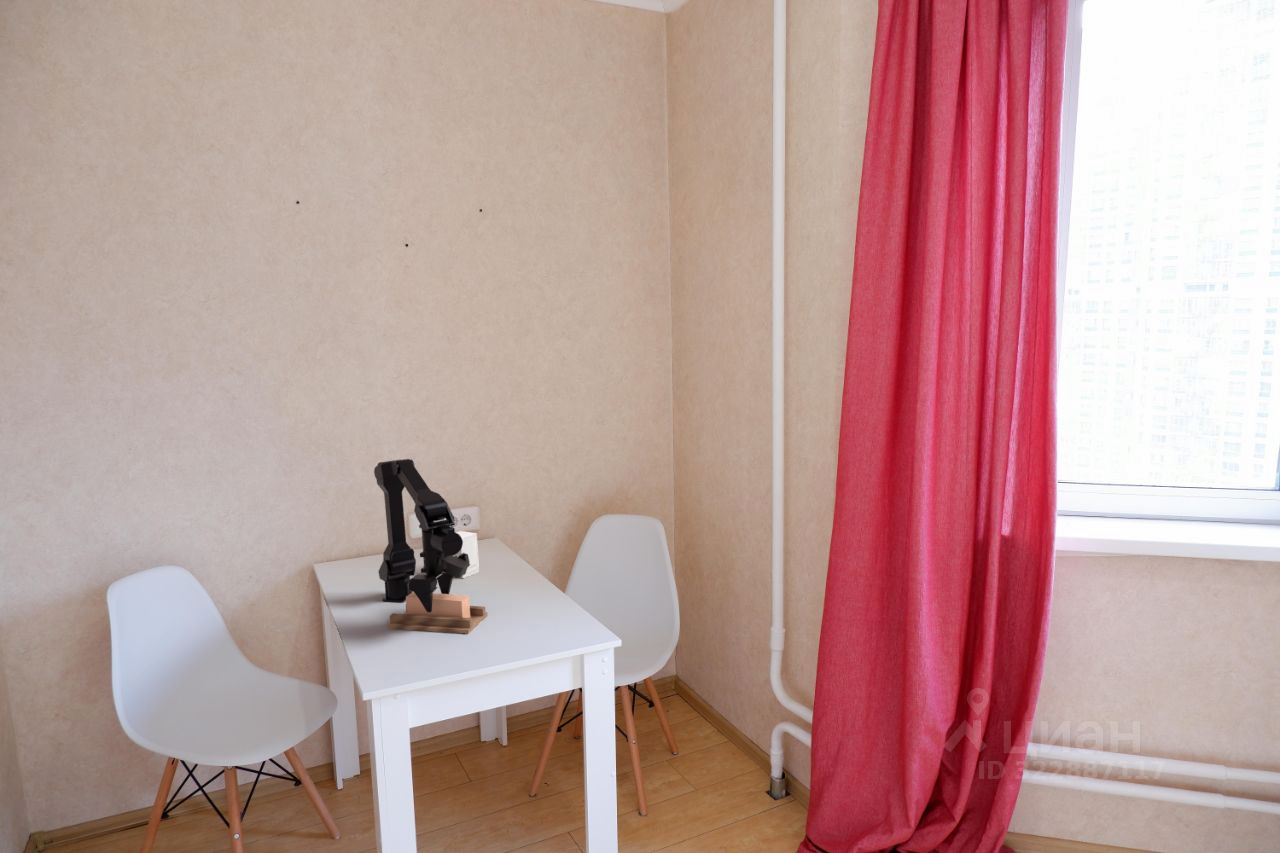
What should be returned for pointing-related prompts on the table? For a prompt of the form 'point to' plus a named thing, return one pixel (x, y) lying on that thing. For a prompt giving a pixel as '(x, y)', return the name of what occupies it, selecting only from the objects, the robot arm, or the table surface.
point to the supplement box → (469, 551)
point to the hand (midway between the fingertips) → (437, 605)
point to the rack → (438, 622)
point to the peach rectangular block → (440, 605)
